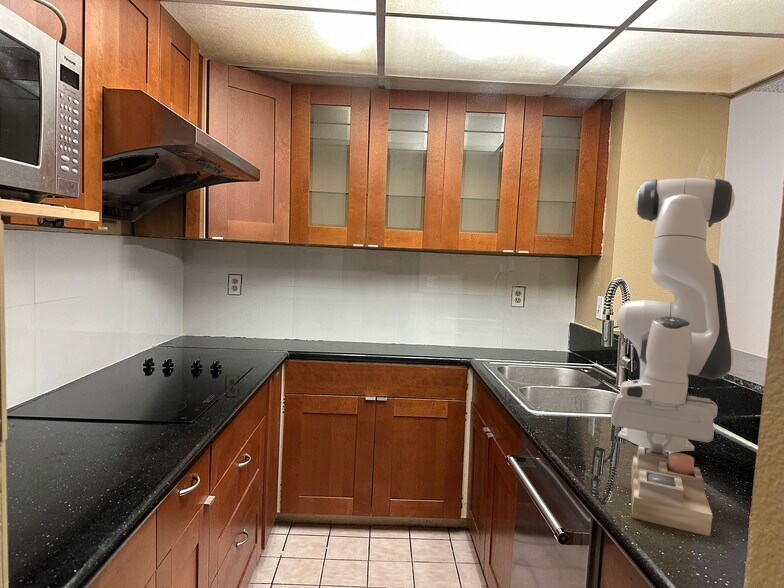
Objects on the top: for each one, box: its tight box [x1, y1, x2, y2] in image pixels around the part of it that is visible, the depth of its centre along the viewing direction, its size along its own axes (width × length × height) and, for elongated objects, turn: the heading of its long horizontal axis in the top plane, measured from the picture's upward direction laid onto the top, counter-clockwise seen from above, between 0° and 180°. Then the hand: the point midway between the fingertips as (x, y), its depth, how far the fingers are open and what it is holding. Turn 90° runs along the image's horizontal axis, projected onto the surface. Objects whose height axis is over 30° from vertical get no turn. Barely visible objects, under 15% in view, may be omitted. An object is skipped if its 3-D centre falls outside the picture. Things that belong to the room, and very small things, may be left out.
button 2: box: [648, 474, 674, 486], centre depth 105 cm, size 4×4×3 cm
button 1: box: [646, 449, 668, 459], centre depth 119 cm, size 4×4×3 cm
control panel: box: [631, 445, 713, 537], centre depth 111 cm, size 25×13×7 cm, turn 156°
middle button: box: [668, 452, 695, 475], centre depth 110 cm, size 4×4×3 cm
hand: (657, 452), depth 119 cm, fingers closed, pressing on button 1
